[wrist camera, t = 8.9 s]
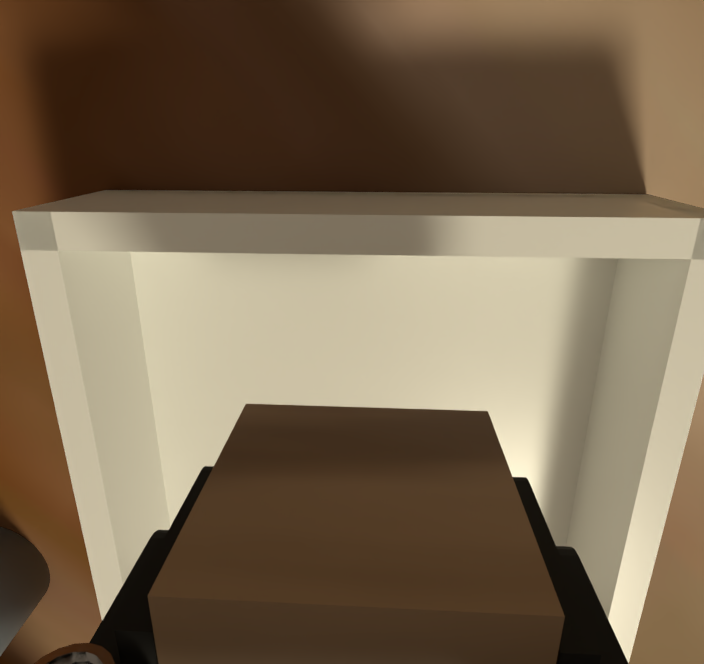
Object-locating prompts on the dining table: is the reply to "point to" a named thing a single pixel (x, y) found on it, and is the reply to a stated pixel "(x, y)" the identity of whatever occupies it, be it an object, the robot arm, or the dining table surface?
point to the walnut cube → (357, 547)
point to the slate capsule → (19, 583)
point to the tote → (375, 344)
